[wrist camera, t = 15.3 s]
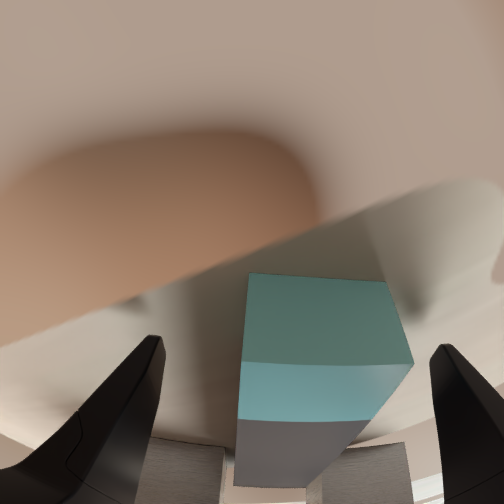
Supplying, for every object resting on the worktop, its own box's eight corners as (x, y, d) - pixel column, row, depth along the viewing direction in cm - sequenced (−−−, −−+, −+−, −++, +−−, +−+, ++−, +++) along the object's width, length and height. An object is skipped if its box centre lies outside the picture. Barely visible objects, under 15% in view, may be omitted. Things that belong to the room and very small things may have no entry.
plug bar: (304, 443, 16) (305, 487, 14) (237, 440, 16) (233, 485, 14) (385, 280, 9) (414, 363, 6) (249, 271, 9) (241, 361, 6)
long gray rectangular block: (378, 463, 20) (383, 517, 16) (149, 455, 20) (139, 511, 16) (404, 441, 17) (414, 505, 13) (132, 433, 17) (117, 499, 13)
